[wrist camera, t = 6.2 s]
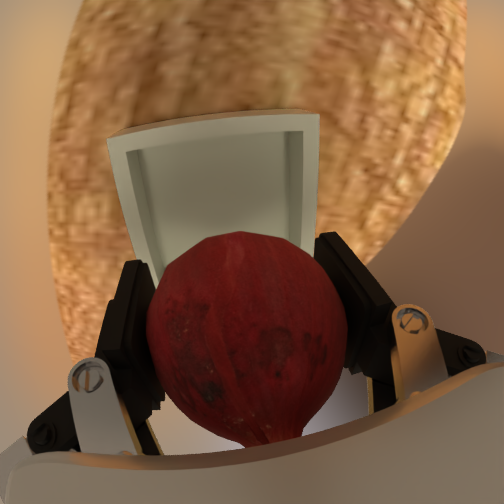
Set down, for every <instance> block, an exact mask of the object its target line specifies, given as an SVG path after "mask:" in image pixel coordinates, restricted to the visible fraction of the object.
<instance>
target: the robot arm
mask: <svg viewBox="0 0 504 504" xmlns="http://www.w3.org/2000/svg"><path fill="white" fill-rule="evenodd" d="M313 258H314V259H315V260H316V261H317V262H318V263H319V265H320V266H321V267H322V268H323V269H324V271H325V272H326V274H327V275H328V277H329V278H330V280H331V281H332V283H333V284H334V286H335V288H336V290H337V292H338V294H339V296H340V298H341V301H342V303H343V305H344V308H345V313H346V319H347V325H348V332H347V344H346V353H345V361H344V366H343V367H344V368H349V371H350V372H351V375H353V374H356V373H359V372H363V374H364V375H365V376H367V386H368V409H369V415H368V416H365V417H363V418H360V419H357V420H354V421H352V422H349V423H346V424H343V425H340V426H336V427H333V428H330V429H327V430H324V431H320V432H316V433H313V434H309V435H305V436H302V437H298V438H293V439H289V440H285V441H280V442H276V443H271V444H266V445H261V446H255V447H249V448H243V449H236V450H229V451H221V452H212V453H202V454H187V455H164V453H163V451H162V449H161V447H160V445H159V443H158V440H157V438H156V436H155V434H154V432H153V429H152V427H151V425H150V422H149V420H148V418H149V417H150V416H151V415H152V410H160V401H165V390H164V389H163V387H162V385H161V383H160V381H159V380H158V378H157V375H156V372H155V368H154V364H153V361H152V357H151V353H150V350H149V346H148V342H147V338H146V312H147V310H148V307H149V305H150V303H151V300H152V298H153V295H154V293H155V291H156V288H155V285H154V282H153V279H152V276H151V272H150V269H149V266H148V264H147V263H143V262H142V260H141V259H138V260H132V261H126V262H125V264H124V267H123V270H122V274H121V277H120V280H119V284H118V287H117V290H116V294H115V297H114V299H112V300H110V301H109V303H108V305H107V309H106V313H105V316H104V320H103V324H102V327H101V331H100V335H99V339H98V344H97V348H96V352H95V357H94V358H93V357H90V358H86V359H83V360H81V361H79V362H78V363H77V364H76V365H75V366H73V368H72V369H71V371H70V373H69V376H68V389H69V391H67V392H66V393H65V394H64V395H63V396H62V397H60V398H59V399H58V400H57V401H56V402H54V403H53V404H52V405H51V406H49V407H48V408H47V409H46V410H45V411H44V412H42V413H41V414H40V415H39V416H38V417H36V418H35V419H34V420H33V421H32V422H31V424H30V426H29V428H28V432H27V438H25V437H24V436H22V437H21V438H20V439H18V440H17V441H16V442H15V443H13V444H12V445H11V446H10V447H8V448H7V449H6V450H5V451H3V452H2V453H1V454H0V496H1V499H2V501H3V502H4V504H504V355H501V354H497V353H494V352H491V351H486V352H484V350H483V349H482V347H481V346H480V345H479V344H477V343H476V342H474V341H472V340H469V339H467V338H463V337H460V336H457V335H454V334H451V333H448V332H445V331H442V330H439V329H436V328H435V327H434V324H433V321H432V319H431V317H430V315H429V314H428V313H427V312H426V311H425V310H423V309H422V308H420V307H418V306H415V305H409V304H406V305H401V306H399V307H397V306H396V305H395V304H394V303H393V301H392V300H391V299H390V298H389V296H388V295H387V293H386V292H385V291H384V289H383V288H382V287H381V286H380V284H379V283H378V282H377V280H376V279H375V278H374V277H373V276H372V274H371V273H370V272H369V270H368V269H367V268H366V267H365V265H364V264H363V263H362V262H361V261H360V260H359V259H358V257H357V256H356V255H355V254H354V253H353V251H352V250H351V249H350V248H349V247H348V245H347V244H346V243H345V242H344V241H343V239H342V238H341V237H340V236H339V235H338V234H337V233H336V232H327V233H321V234H320V235H319V238H316V239H315V244H314V257H313Z"/></svg>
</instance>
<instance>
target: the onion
mask: <svg viewBox="0 0 504 504" xmlns="http://www.w3.org/2000/svg"><path fill="white" fill-rule="evenodd" d="M347 332H348V325H347V319H346V313H345V308H344V305H343V303H342V301H341V298H340V296H339V294H338V292H337V290H336V288H335V286H334V284H333V283H332V281H331V280H330V278H329V277H328V275H327V274H326V272H325V271H324V269H323V268H322V267H321V266H320V265H319V263H318V262H317V261H316V260H315V259H314V258H313V257H312V256H311V255H310V254H309V253H307V252H305V251H304V250H302V249H301V248H299V247H297V246H296V245H294V244H292V243H291V242H289V241H288V240H286V239H284V238H280V237H275V236H270V235H264V234H258V233H251V232H245V231H237V232H231V233H226V234H221V235H216V236H211V237H206V238H205V239H203V240H202V241H200V242H199V243H197V244H196V245H194V246H193V247H192V248H190V249H189V250H187V251H186V252H185V253H183V254H182V255H180V256H179V257H178V258H176V259H175V260H173V261H172V262H171V263H169V264H168V265H167V267H166V269H165V271H164V273H163V275H162V278H161V280H160V282H159V284H158V286H157V289H156V291H155V293H154V295H153V298H152V300H151V303H150V305H149V307H148V310H147V312H146V338H147V342H148V346H149V350H150V353H151V357H152V361H153V364H154V368H155V372H156V375H157V378H158V380H159V381H160V383H161V385H162V387H163V389H164V390H165V392H166V394H167V395H168V396H169V398H170V399H171V400H172V401H173V402H174V404H175V405H176V406H177V407H178V408H179V409H180V410H181V411H182V412H183V413H184V414H185V415H186V416H187V417H188V418H189V419H190V420H192V421H193V422H195V423H197V424H198V425H200V426H201V427H203V428H205V429H207V430H208V431H210V432H212V433H214V434H216V435H217V436H220V437H223V438H225V439H228V440H231V441H235V442H238V443H240V444H241V445H243V446H244V447H245V448H249V447H255V446H261V445H266V444H271V443H276V442H280V441H285V440H289V439H293V438H298V437H301V436H302V432H303V428H304V427H305V426H306V425H307V423H308V422H309V421H310V419H311V418H312V417H313V416H314V415H315V414H316V413H317V412H318V411H319V410H320V409H321V407H322V406H323V405H324V404H325V402H326V401H327V400H328V399H329V397H330V396H331V395H332V393H333V391H334V389H335V387H336V385H337V383H338V381H339V379H340V376H341V373H342V369H343V366H344V361H345V353H346V344H347Z"/></svg>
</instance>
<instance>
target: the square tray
mask: <svg viewBox="0 0 504 504" xmlns="http://www.w3.org/2000/svg"><path fill="white" fill-rule="evenodd" d="M319 129H320V114H317V113H314V112H310V111H306V110H303V109H265V110H248V111H235V112H224V113H214V114H206V115H198V116H191V117H184V118H177V119H171V120H165V121H160V122H155V123H149V124H144V125H140V126H135V127H130V128H126V129H122V130H120V131H118V132H117V133H115V134H114V135H112V136H110V137H109V138H107V139H106V140H107V146H108V151H109V156H110V161H111V165H112V170H113V174H114V179H115V183H116V187H117V192H118V196H119V200H120V203H121V207H122V211H123V215H124V218H125V222H126V226H127V229H128V232H129V236H130V239H131V242H132V246H133V249H134V252H135V255H136V258H137V260H138V259H141V260H142V262H143V263H147V264H148V266H149V269H150V272H151V276H152V279H153V282H154V285H155V288H156V289H157V286H158V284H159V282H160V280H161V278H162V275H163V273H164V271H165V269H166V267H167V265H168V264H169V263H171V262H172V261H173V260H175V259H176V258H178V257H179V256H180V255H182V254H183V253H185V252H186V251H187V250H189V249H190V248H192V247H193V246H194V245H196V244H197V243H199V242H200V241H202V240H203V239H205V238H206V237H211V236H216V235H221V234H226V233H231V232H237V231H245V232H251V233H258V234H264V235H270V236H275V237H280V238H284V239H286V240H288V241H289V242H291V243H292V244H294V245H296V246H297V247H299V248H301V249H302V250H304V251H305V252H307V253H309V254H310V255H311V256H312V257H313V252H314V240H315V226H316V211H317V193H318V170H319Z"/></svg>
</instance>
